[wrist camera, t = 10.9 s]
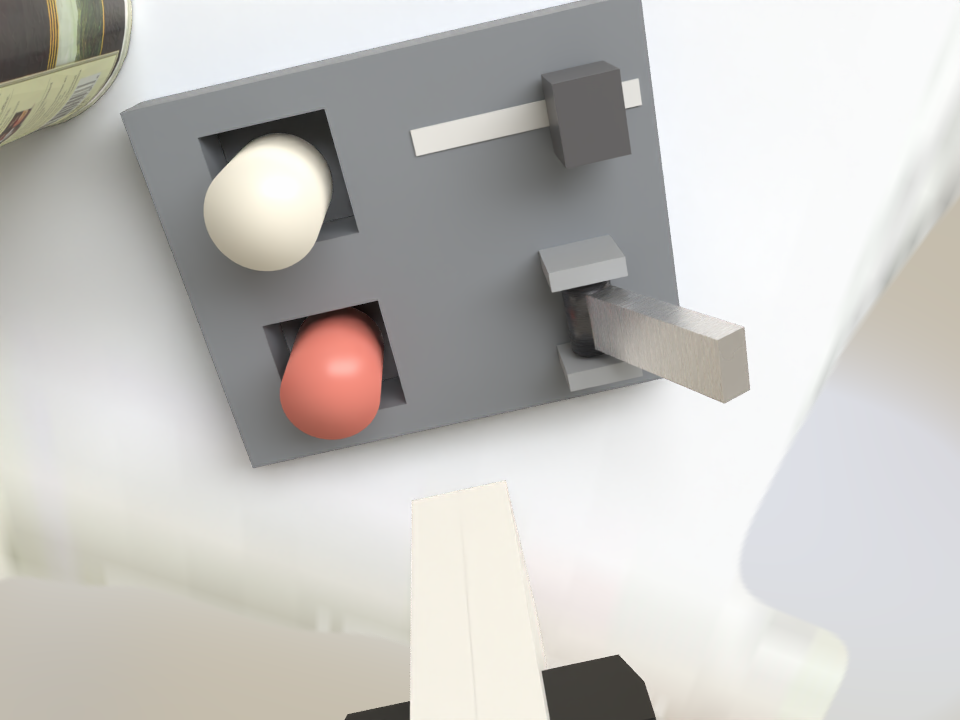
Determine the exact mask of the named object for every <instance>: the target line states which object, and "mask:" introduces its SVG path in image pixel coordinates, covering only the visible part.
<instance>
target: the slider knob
mask: <svg viewBox="0 0 960 720" xmlns="http://www.w3.org/2000/svg"><path fill="white" fill-rule="evenodd" d="M541 79H542V85H543V91H544V96H545V102H546V108H547V113H548V119H549V125H550V131H551V136H552V142H553V148H554V153H555V154H556V156H557V157H558V158H559V160H560V161H561V162H562V164H563V165H564V167H565V168H566V169H568V168H573V167H577V166H582V165H586V164H590V163H595V162H599V161H604V160H608V159H612V158H617V157H621V156H626V155H630V154H631V147H630V139H629V132H628V125H627V118H626V111H625V103H624V96H623V89H622V82H621V74H620V69H619V68H617V67H615V66H613V65H611V64H609V63H607V62H605V61H603V60H602V61H598V62H593V63H589V64H585V65H580V66H576V67H571V68H567V69H563V70H558V71H554V72H550V73H545V74H541Z"/></svg>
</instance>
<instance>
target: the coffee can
mask: <svg viewBox="0 0 960 720" xmlns="http://www.w3.org/2000/svg"><path fill="white" fill-rule="evenodd" d="M131 27H132V5H131V0H0V146H2V145H5V144H7V143H9V142H12V141H14V140H16V139H19V138H21V137H23V136H26V135H28V134H30V133H33V132H35V131H37V130H40V129H42V128H44V127H47V126H52V125H56V124H59V123H62V122H66V121H67V120H69V119H71V118H73V117H75V116H77V115H78V114H80V113H82V112H83V111H85V110H86V109H88V108H89V107H90V106H91V105H93V104H94V103H95V102H96V101H97V100H98V99H99V98H100V97H101V96H102V95H103V94H104V93H105V92H106V90H107V89H108V88H109V87H110V86H111V84H112V83H113V81H114V79H115V78H116V76H117V75H118V72H119V70H120V68H121V66H122V64H123V61H124V59H125V57H126V55H127V51H128V47H129V40H130V34H131Z"/></svg>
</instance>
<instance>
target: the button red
mask: <svg viewBox="0 0 960 720" xmlns="http://www.w3.org/2000/svg"><path fill="white" fill-rule="evenodd" d="M383 359H384V340H383V336H382V333H381V331H380V329H379V327H378V326H377V324H376V323H375V322H374V321H373V320H372V319H371V318H370V317H369V316H368V315H366V314H365V313H363V312H362V311H360V310H358V309H355V308H352V307H346V308H342V309H337V310H333V311H328V312H324V313H319V314H315V315H310V316H308V317H307V318H306V319H305V320H304V322H303V323H302V324H301V326H300V328H299V330H298V332H297V335H296V339H295V342H294V345H293V348H292V351H291V354H290V357H289V360H288V363H287V366H286V370H285V373H284V376H283V379H282V382H281V386H280V401H281V405H282V408H283V410H284V413H285V414H286V416H287V418H288V419H289V420H290V421H291V423H292V424H293V425H295V426H296V427H297V428H298V429H299V430H301V431H303V432H304V433H306V434H308V435H310V436H313V437H316V438H320V439H327V440H337V439H344V438H347V437H350V436H353V435H355V434H357V433H359V432H361V431H362V430H363V429H365V428H366V427H367V426H368V425H369V424H370V423H371V422H372V420H373V419H374V417H375V416H376V414H377V411H378V409H379V405H380V396H381V383H382V371H383Z"/></svg>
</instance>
